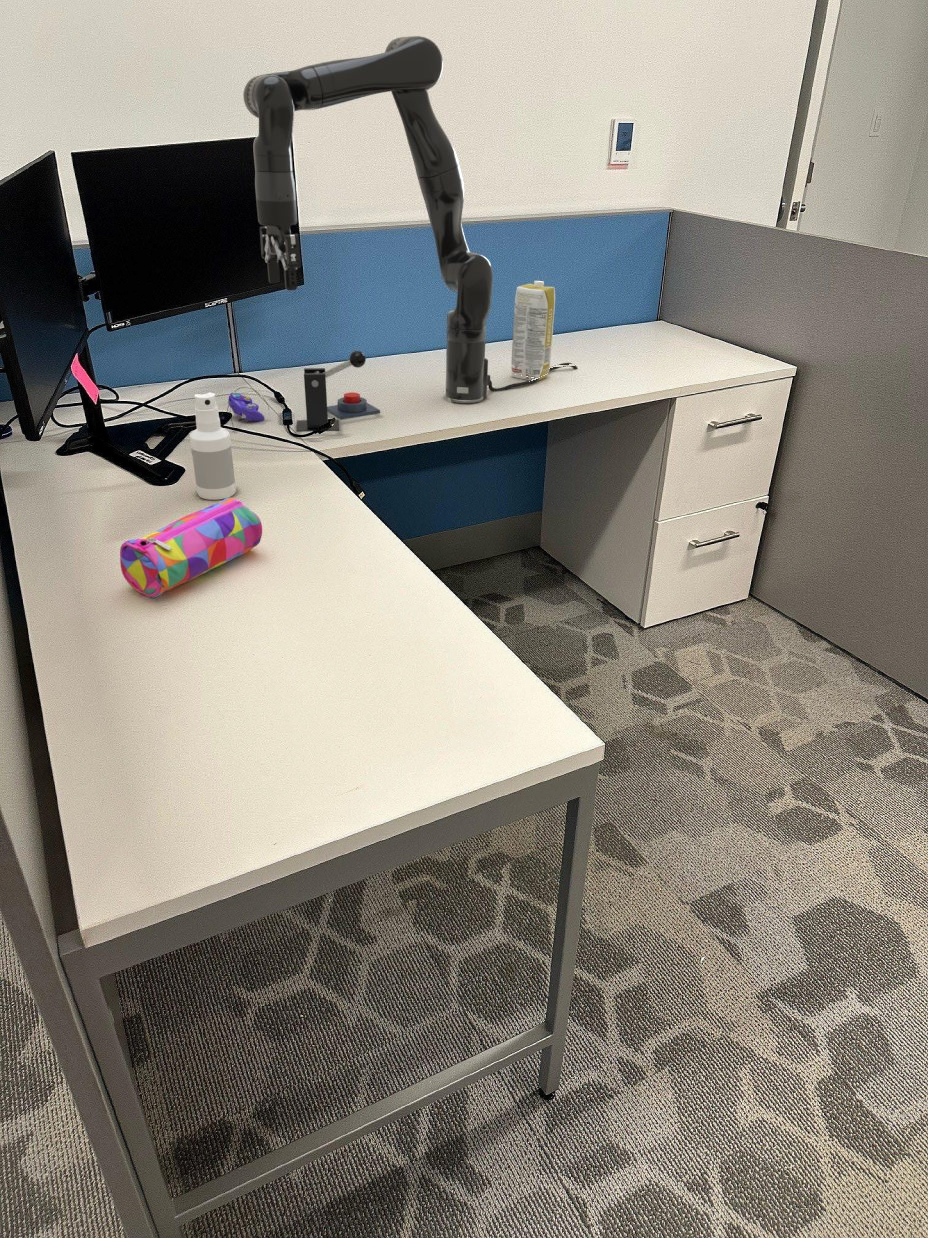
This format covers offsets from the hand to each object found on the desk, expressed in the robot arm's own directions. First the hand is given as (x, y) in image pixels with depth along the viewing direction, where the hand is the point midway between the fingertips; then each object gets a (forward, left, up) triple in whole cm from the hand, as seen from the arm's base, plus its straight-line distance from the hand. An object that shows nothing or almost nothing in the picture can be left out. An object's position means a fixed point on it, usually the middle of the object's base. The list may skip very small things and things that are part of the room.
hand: (282, 286), depth 175 cm
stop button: (-15, -1, -26) cm, 30 cm away
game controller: (+9, -7, -29) cm, 32 cm away
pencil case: (+40, +56, -29) cm, 75 cm away
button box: (-15, -1, -29) cm, 33 cm away
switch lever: (-9, +7, -18) cm, 21 cm away
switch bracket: (-4, +5, -29) cm, 30 cm away
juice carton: (-71, -8, -29) cm, 77 cm away
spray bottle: (+27, +28, -29) cm, 49 cm away
